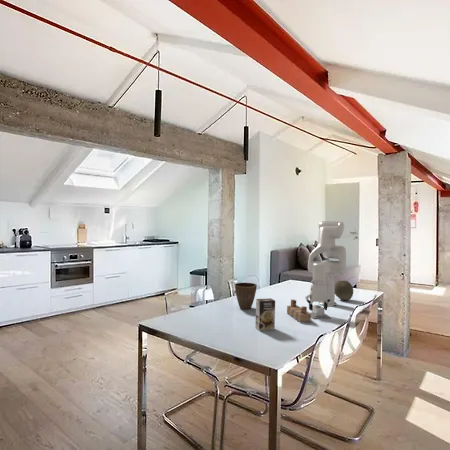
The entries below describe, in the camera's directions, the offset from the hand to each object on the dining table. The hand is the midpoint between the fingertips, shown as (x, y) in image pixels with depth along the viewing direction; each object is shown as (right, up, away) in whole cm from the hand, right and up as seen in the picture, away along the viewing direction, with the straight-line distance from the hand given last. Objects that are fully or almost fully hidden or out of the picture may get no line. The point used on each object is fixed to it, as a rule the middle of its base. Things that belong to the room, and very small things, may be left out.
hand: (318, 309), depth 214 cm
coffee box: (-37, -4, -27) cm, 46 cm away
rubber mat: (0, -4, 0) cm, 4 cm away
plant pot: (-45, -3, +16) cm, 48 cm away
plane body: (-13, -4, -5) cm, 15 cm away
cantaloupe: (+31, -4, +45) cm, 55 cm away
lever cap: (0, -3, 0) cm, 3 cm away
